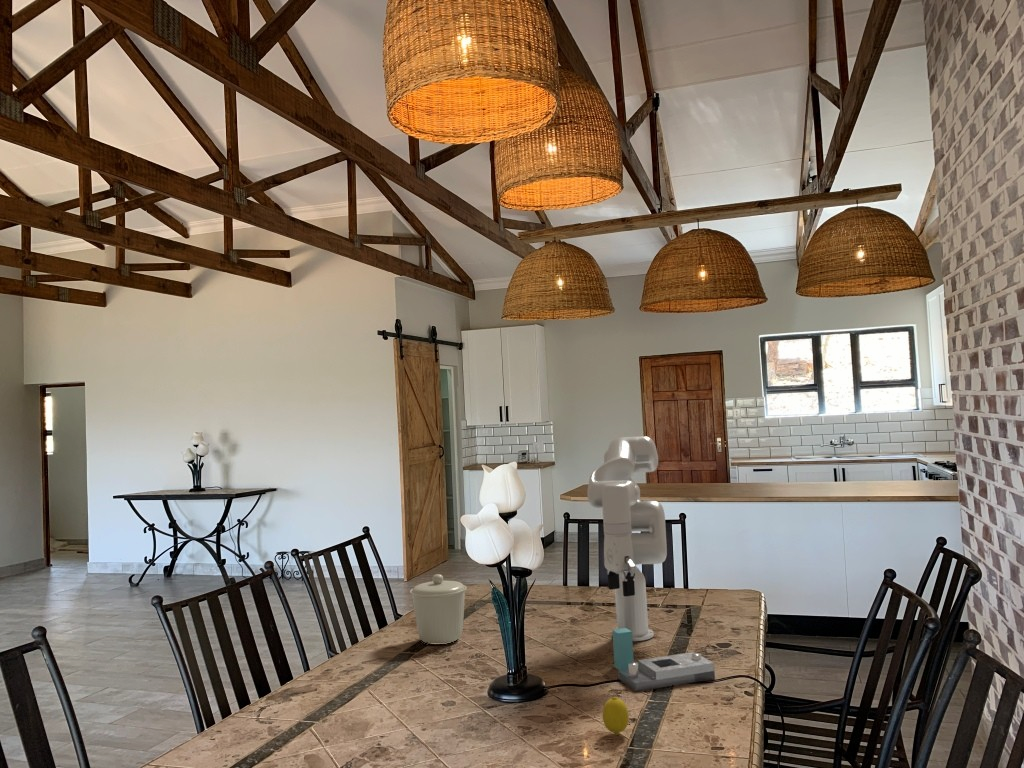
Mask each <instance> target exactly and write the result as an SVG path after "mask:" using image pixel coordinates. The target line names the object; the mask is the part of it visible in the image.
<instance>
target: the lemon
mask: <svg viewBox="0 0 1024 768" xmlns="http://www.w3.org/2000/svg"><path fill="white" fill-rule="evenodd" d="M629 716H630V715H629V710H628V707H627V705H626V703H625V702H624V701H623V700H622V699H621V698H617V696H613V697H612V698H609V699H608V700H606V702H605V703H604V706H603V709H602V721H603V725H604V727H605V728H606V729H607V731H609V732H610V733H611V732H612V733H613V734H614V735H615V736H618V735H619V734H620V733H622V732H623V731H625V730H626V728H627V727H628V725H629V718H630V717H629Z"/></svg>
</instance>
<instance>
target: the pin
mask: <svg viewBox="0 0 1024 768" xmlns="http://www.w3.org/2000/svg"><path fill="white" fill-rule="evenodd" d="M611 631H612V633H611V634H612V644H613V645H612V646H613V647H612V649H613V662H614V663H613V665H614V668H615V669H616V670H618V671H622V670H628V669H629V666H628V664H629V663H635V660H634V645H633V643H634V641H632V631H630V630H628V629H627V628H622V629H617V628H615V629H611Z"/></svg>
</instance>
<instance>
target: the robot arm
mask: <svg viewBox="0 0 1024 768" xmlns="http://www.w3.org/2000/svg"><path fill="white" fill-rule="evenodd" d="M603 462H604V463H603V464H601V465H599V466H598V467H597V468H595V469H594V470H593V471H592V472H591V474H590V476H589V480H588V486H587V500H588V503H589V504H590V506H591V507H593V508H596V509H599V508H600V509H601V508H602V520H603V521H602V522H603V535H604V538H603V564H604V565H603V566H604V568H605V569H606V574H607V584H608V590H614V597H615V610H616V611H615V612H616V625H617V626H616V629H622V628H627V629H628V630H630V631H632V642H642V641H647V640H650V639H652V638H653V637H654V636H655V633H654V631H653V630H652V629H651V628H649V619H648V618H649V617H648V602H647V588H646V585H647V584H646V577H645V576H644V573H643V572H642V571H641V570H640V569H639V568H638V567H637V565H658V564H662V563H664V562H665V561H666V560H667V559H666V558H667V555H668V552H667V551H668V549H667V547H668V546H667V531H666V530H667V529H666V516H665V509H664V507H663V505H662V503H660V502H659V501H657V500H641V488H640V487H639V485H638V484H637V482H636V481H635V480H634V479H632V476H633V475H634V474H638V473H652V472H655V471H656V470H657V469H658V466H659V455H658V450H657V446H656V444H655V442H654V440H653V439H652V438H651V437H649V436H644V435H643V436H641V435H639V436H621V437H617V438H614V439H613V440H611V442H610V443H609V445H608V449H607V450H606V451H605V453H604V455H603Z"/></svg>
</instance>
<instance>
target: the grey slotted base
mask: <svg viewBox="0 0 1024 768" xmlns="http://www.w3.org/2000/svg"><path fill="white" fill-rule="evenodd" d="M628 666H629V669H628V670H622V671H620V670H618V674H617V675H618V680H620V681H621V682H622V683H623V684H625V685H626V684H627V685H626V686H628V687H629V686H630V687H629V688H630V689H632V690H633V689H634V690H633V691H634V692H641V690H642V691H647V689H648V690H653V689H660V688H666V687H671V686H672V685H673V686H677V685H684V684H690V683H696V682H697V683H698V682H703V681H710V680H715V679H716V675H715V674H716V673H715V663H714V662H713V661H711V660H709V659H708V658H705V657H704V656H702V654H701V653H699V652H694V651H691V652H685V653H684V652H683V653H678V654H672V655H665V656H663V655H662V656H657V657H650V658H644V659H638V660H637V662H634V663H629V664H628ZM673 686H672V687H673Z"/></svg>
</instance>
